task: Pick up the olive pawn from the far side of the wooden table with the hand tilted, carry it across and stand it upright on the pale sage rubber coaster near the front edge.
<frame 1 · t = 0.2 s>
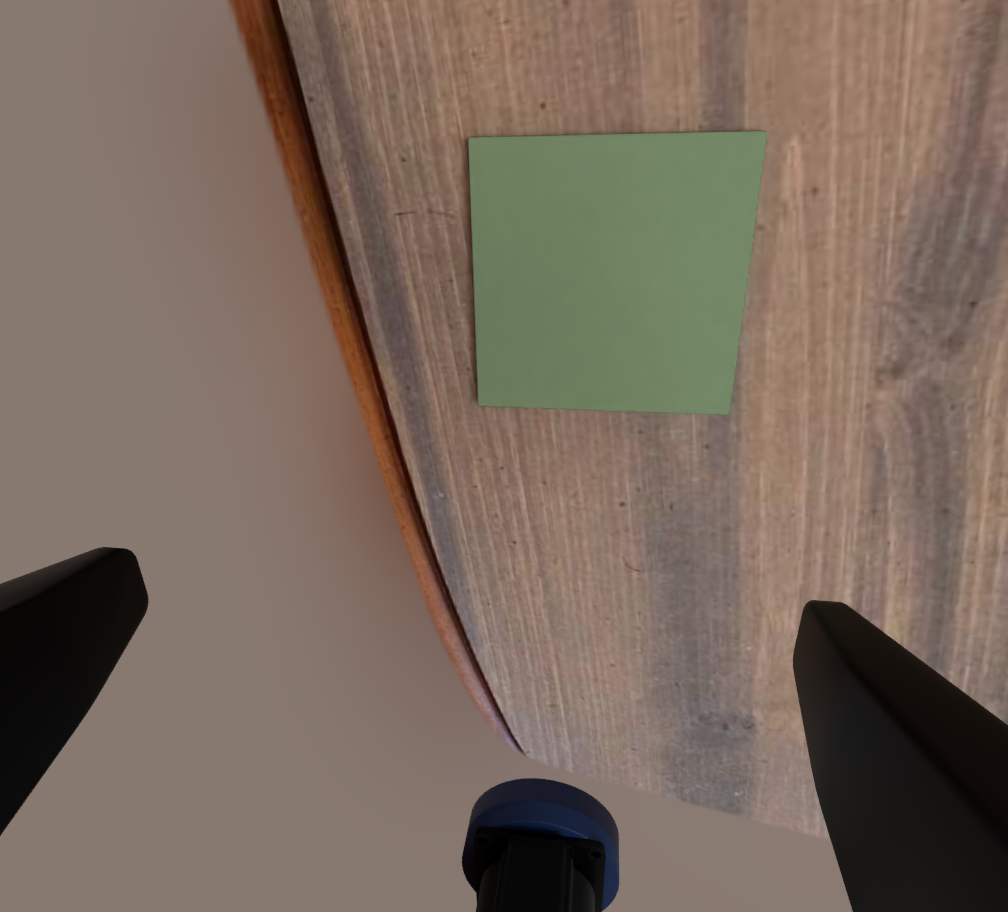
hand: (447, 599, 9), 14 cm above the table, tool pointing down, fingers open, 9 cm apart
coaster: (606, 282, 20), on the table
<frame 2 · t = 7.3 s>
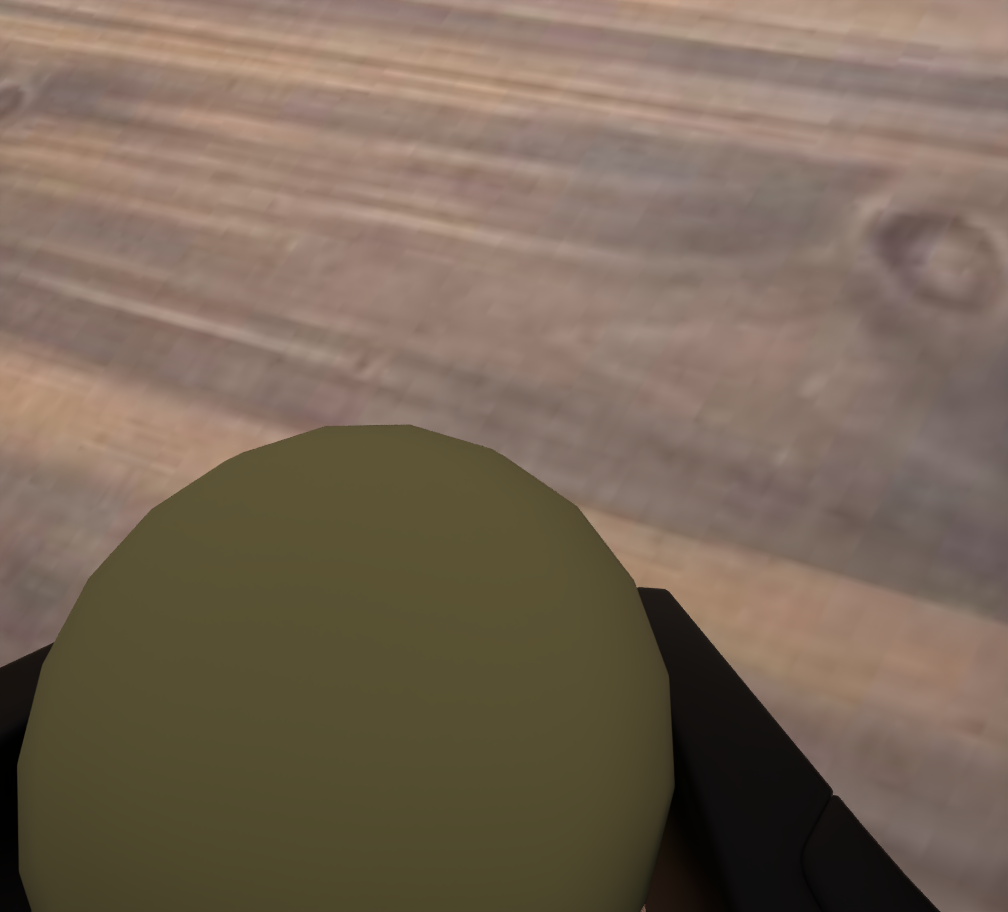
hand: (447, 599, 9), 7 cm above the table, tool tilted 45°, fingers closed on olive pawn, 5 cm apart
olive pawn: (499, 703, 15), on the table, touching gripper
when the fingers open (7 cm above the table, at t = 15.9 s): olive pawn stays where it is, resting on coaster.
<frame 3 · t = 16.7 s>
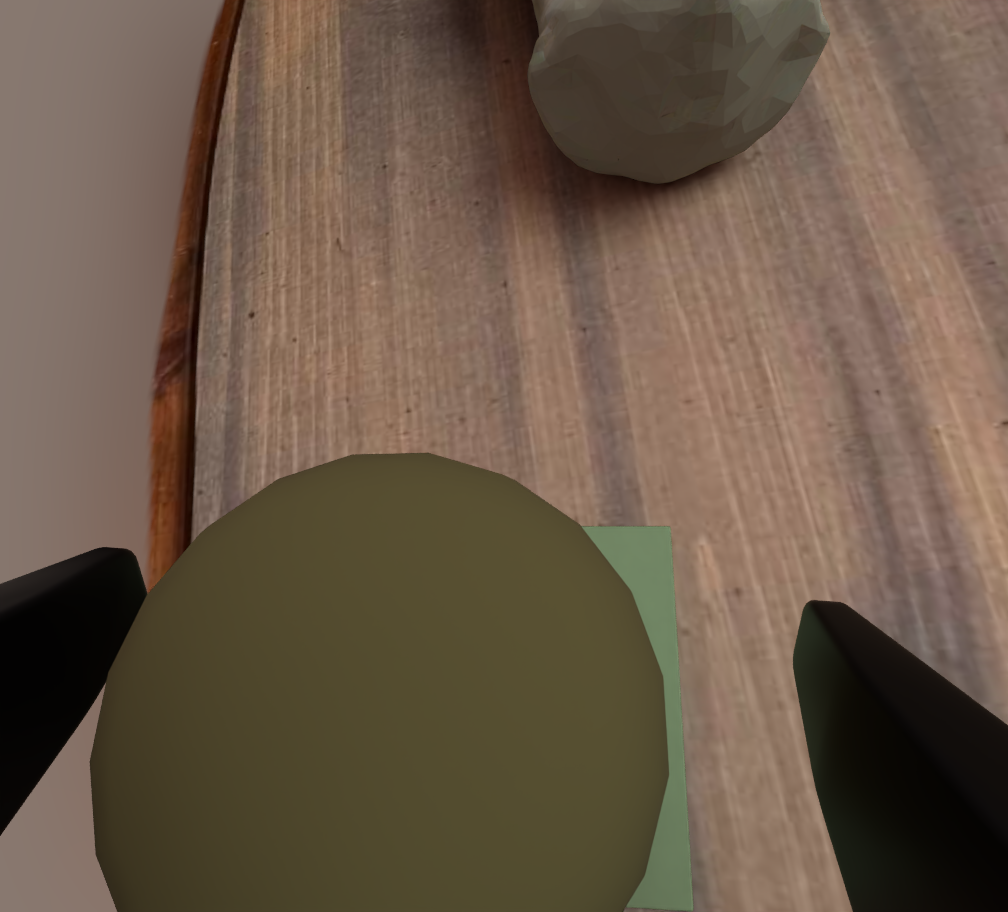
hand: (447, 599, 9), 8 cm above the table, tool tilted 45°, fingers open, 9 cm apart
ceramic sculpture: (639, 60, 22), on the table
coaster: (504, 696, 16), on the table
olive pawn: (504, 703, 15), resting on coaster
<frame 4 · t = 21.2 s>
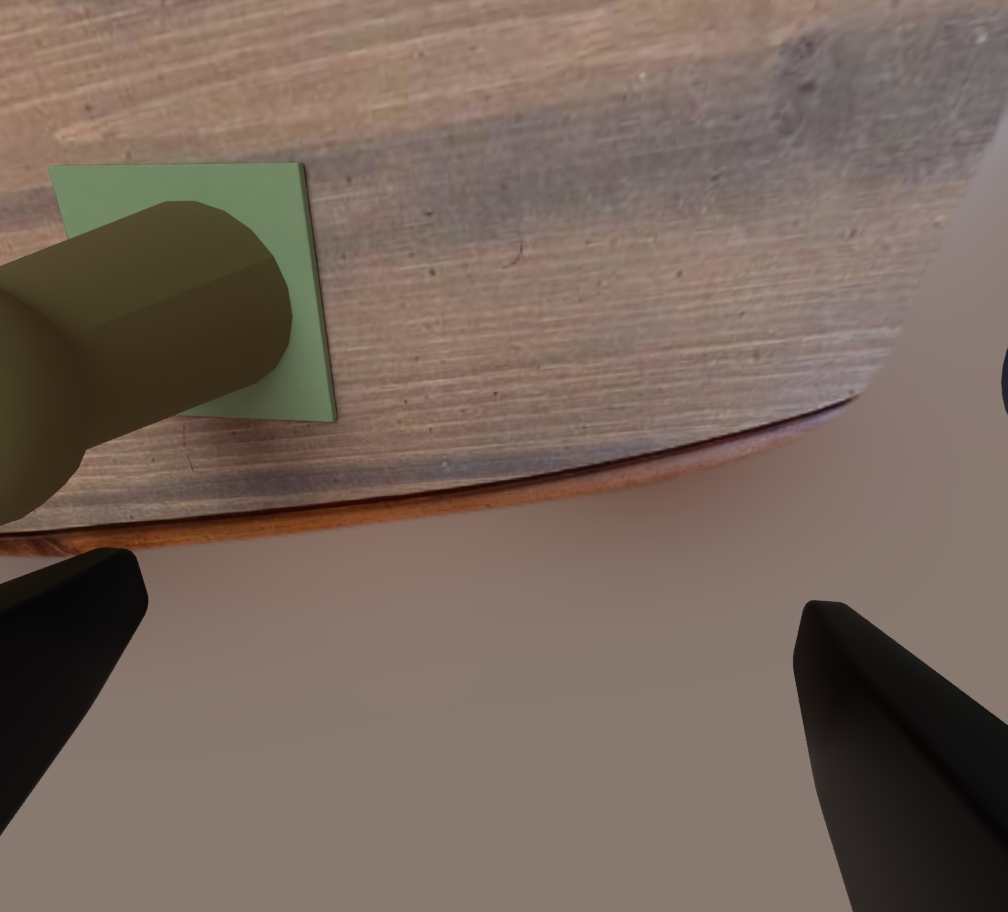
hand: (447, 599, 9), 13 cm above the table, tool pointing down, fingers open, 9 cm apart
coaster: (204, 298, 21), on the table
olive pawn: (205, 299, 21), resting on coaster
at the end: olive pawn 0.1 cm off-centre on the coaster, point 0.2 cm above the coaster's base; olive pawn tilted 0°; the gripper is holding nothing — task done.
